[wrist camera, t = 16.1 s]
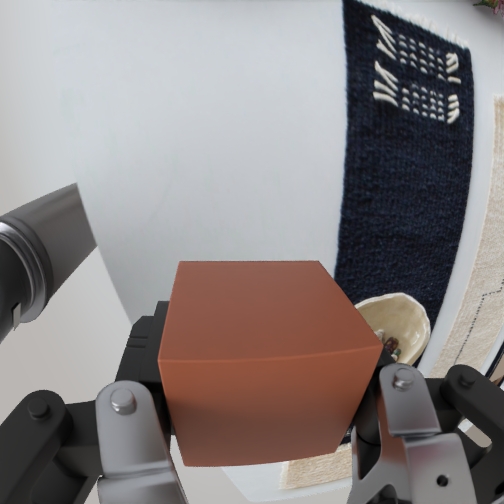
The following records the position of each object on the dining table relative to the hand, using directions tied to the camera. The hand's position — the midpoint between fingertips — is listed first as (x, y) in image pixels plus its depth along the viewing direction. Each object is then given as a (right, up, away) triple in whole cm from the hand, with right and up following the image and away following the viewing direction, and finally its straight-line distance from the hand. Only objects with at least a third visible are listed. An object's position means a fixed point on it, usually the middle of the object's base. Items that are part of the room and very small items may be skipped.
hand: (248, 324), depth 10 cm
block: (0, 0, 0) cm, 0 cm away
